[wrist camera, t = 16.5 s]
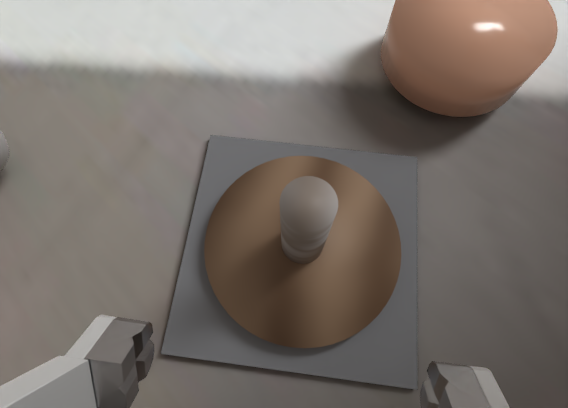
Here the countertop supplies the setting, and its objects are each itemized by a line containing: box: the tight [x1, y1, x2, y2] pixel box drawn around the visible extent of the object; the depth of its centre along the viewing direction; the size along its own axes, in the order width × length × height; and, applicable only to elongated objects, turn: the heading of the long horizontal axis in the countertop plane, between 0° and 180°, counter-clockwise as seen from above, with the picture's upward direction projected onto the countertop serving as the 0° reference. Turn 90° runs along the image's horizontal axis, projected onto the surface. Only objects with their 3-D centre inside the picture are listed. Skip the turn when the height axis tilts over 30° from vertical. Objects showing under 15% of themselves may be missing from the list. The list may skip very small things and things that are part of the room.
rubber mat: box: [161, 135, 418, 390], centre depth 27 cm, size 17×17×1 cm
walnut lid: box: [204, 156, 401, 348], centre depth 23 cm, size 14×14×9 cm
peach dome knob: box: [381, 0, 557, 117], centre depth 31 cm, size 12×12×6 cm
